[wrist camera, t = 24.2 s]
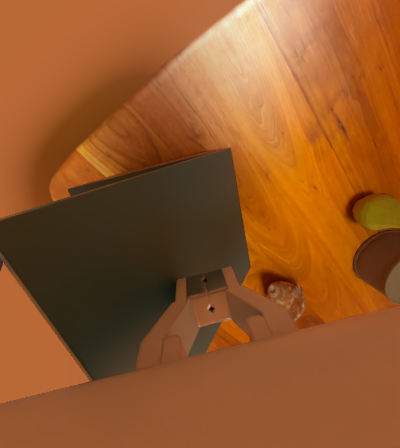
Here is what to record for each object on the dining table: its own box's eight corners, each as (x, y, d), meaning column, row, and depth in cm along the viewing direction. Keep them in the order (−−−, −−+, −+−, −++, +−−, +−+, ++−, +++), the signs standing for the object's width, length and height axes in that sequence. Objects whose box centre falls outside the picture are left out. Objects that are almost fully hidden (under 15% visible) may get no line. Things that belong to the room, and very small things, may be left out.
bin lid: (138, 447, 9) (149, 459, 8) (-25, 225, 5) (-19, 226, 4) (243, 266, 20) (250, 267, 19) (221, 149, 15) (230, 147, 15)
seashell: (249, 292, 43) (252, 309, 33) (271, 264, 42) (280, 272, 32) (285, 320, 41) (299, 347, 31) (308, 291, 40) (330, 309, 30)
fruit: (337, 219, 34) (412, 251, 23) (354, 186, 33) (444, 203, 21) (366, 226, 36) (451, 259, 24) (384, 194, 34) (485, 214, 22)
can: (340, 260, 38) (373, 282, 31) (392, 216, 35) (439, 230, 29) (370, 290, 41) (404, 315, 35) (419, 252, 39) (466, 271, 32)
